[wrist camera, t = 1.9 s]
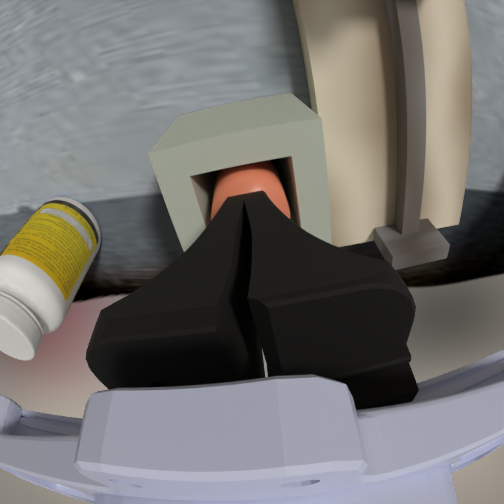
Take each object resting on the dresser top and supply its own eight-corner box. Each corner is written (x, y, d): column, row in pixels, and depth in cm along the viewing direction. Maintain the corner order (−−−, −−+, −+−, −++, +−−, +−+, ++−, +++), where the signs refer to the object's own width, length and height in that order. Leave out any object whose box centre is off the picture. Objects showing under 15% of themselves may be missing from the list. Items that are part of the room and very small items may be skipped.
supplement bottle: (41, 184, 17) (-46, 282, 9) (109, 209, 18) (43, 328, 10) (37, 244, 19) (-24, 344, 12) (97, 268, 21) (51, 380, 13)
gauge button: (274, 148, 12) (284, 175, 10) (283, 205, 14) (294, 243, 12) (208, 161, 13) (201, 191, 10) (223, 216, 14) (221, 256, 12)
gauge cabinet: (290, 92, 15) (321, 118, 9) (304, 190, 18) (332, 257, 13) (174, 116, 15) (140, 156, 10) (201, 210, 19) (189, 282, 14)
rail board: (418, -104, 5) (456, -123, 2) (448, 213, 20) (480, 249, 16) (257, -122, 6) (264, -160, 2) (324, 235, 20) (342, 281, 17)
